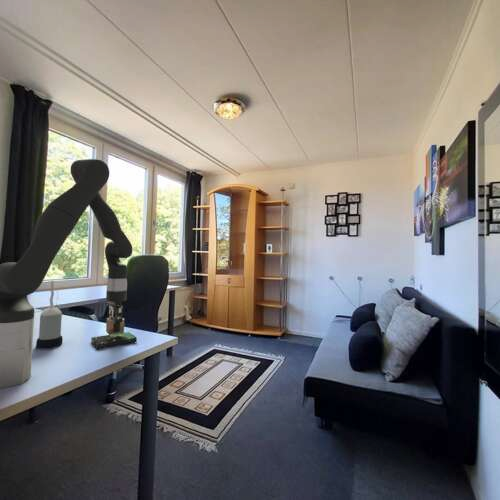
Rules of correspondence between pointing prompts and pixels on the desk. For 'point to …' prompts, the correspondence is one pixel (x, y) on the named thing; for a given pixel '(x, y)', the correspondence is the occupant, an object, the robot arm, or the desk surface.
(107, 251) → the robot arm
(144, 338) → the desk surface
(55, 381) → the desk surface
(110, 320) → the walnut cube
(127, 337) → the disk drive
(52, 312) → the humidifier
